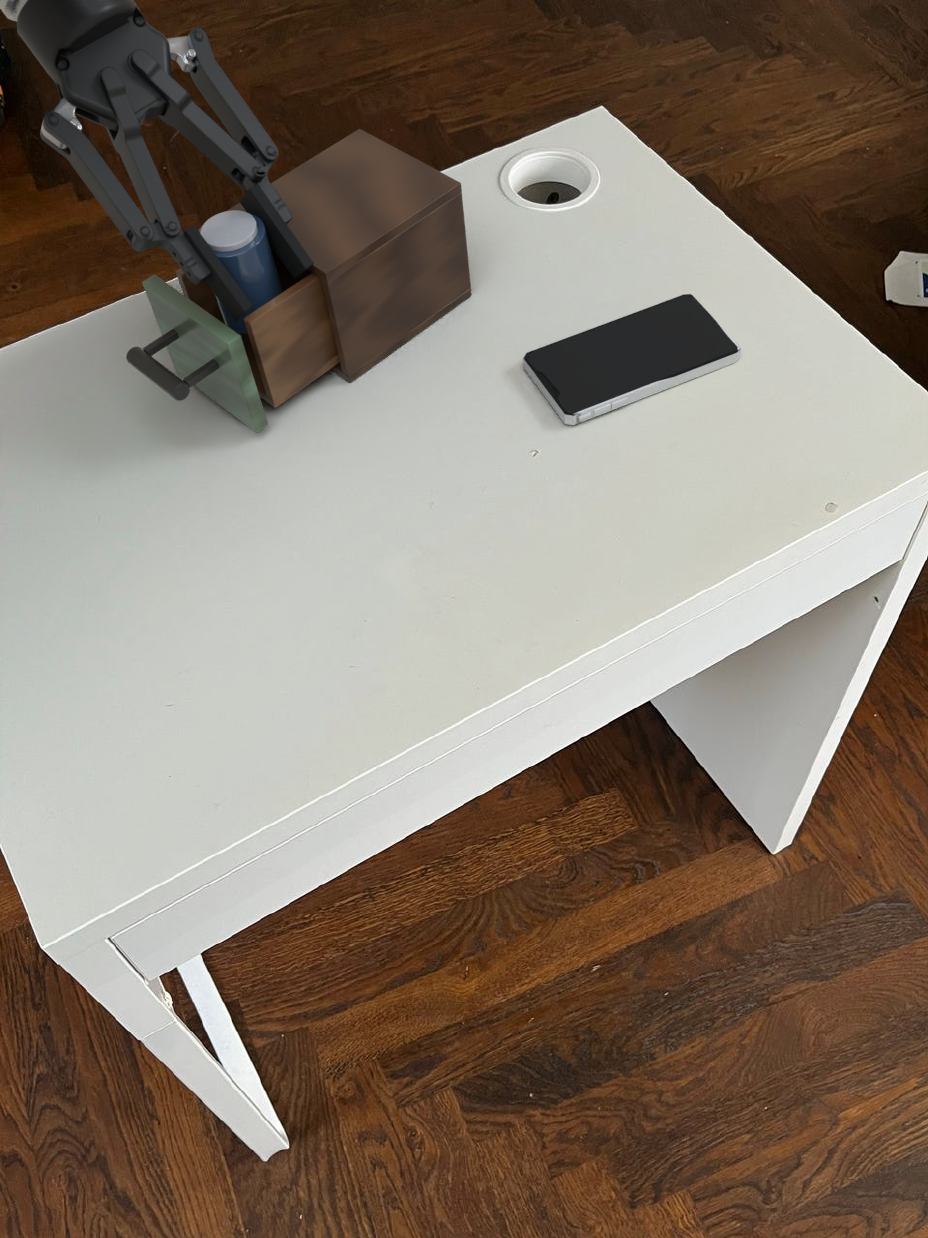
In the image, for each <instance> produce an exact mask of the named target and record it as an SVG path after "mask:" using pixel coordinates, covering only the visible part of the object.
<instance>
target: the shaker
mask: <svg viewBox="0 0 928 1238" xmlns="http://www.w3.org/2000/svg"><path fill="white" fill-rule="evenodd" d="M198 231H199V232H200V234H201V235H202V236H203V238H204V239H205V241H206V242H207V243H208V245H209V246H210V247H211V249H212V250H213V252H214V253H215V254H216V256H217V257H218V258H219V260H220V261H221V263H222V264H223V265H224V267H225V268H226V269H227V271H228V272H229V274H230V275H231V276H232V278H233V279H234V280H235V282H236V283H237V285H238V286H239V287H240V289H241V290H242V291H243V293H244V294H245V296H246V297H247V298H248V300H249V301H250V302H251V304H252V305H253V306H252V307H251V308H250V309H249V310H248V311H247V312H246V313H245V314H244V315H243V316H242V317H241V318H239V319H238V320H236V321H234V319H233V318H232V317H231V315H230V314H229V313H228V311H227V310H226V308H225V307H224V306H223V304H222V303H221V302H220V300H219V299H218V298H217V296H216V295H215V293H214V292H213V294H214V297H215V300H216V303H217V306H218V309H219V311H220V314H221V317H222V320H223V322H224V324H225V325H227V326H228V327H229V328H231V329H232V330H234V331H235V332H237V333H242V334H248V332H247V329H246V326H245V322H244V318H245V317H247V316H248V315H250V314H251V313H253V312H254V311H256V310H257V309H259V308H260V307H262V306H263V305H265V304H266V303H268V302H269V301H271V300H272V299H274V298H275V297H277V296H278V295H280V294H281V293H283V292H284V291H283V288H282V284H281V281H280V277H279V274H278V270H277V267H276V263H275V260H274V256H273V253H272V249H271V246H270V242H269V239H268V235H267V232H266V229H265V225H264V223H263V222H262V220H261V219H260V218H258V217H257V216H255V215H253V214H250V213H247V212H244V211H238V210H233V211H227V210H226V211H223V212H219V213H216V214H215V215H213V216H211V217H209V218H208V219H207V220H206V221H205V222H204V223H203V225H201V227H200V228H199V229H198Z"/></svg>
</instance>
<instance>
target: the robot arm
mask: <svg viewBox="0 0 928 1238" xmlns="http://www.w3.org/2000/svg"><path fill="white" fill-rule="evenodd" d="M0 10H1V12H2V13H3V15H4V16H5V17H6V18H7V19H8V20H10V21H13V22H16V33H17V34H18V36H19V37H20V38H21V40H22V41H23V42H24V43H25V45H26V46H27V47H28V49H29V50H30V52H31V53H32V55H33V56H34V57H35V59H36V60H37V61H38V62H39V64H40V65H41V67H42V68H43V69H44V71H45V72H46V73H47V75H48V76H49V77H50V78H51V79H52V80H53V82H54V84H55V85H56V88H57V91H58V92H57V93H58V97H59V102H58V104H57V105H56V107H54V109H53V110H49V111H47V112H46V113H45V114H44V115H43V118H42V123H41V128H40V130H39V134H40V135H39V137H40V139H41V140H42V141H43V142H44V143H45V144H47V145H48V146H49V147H51V148H52V149H53V150H55V151H56V152H58V153H59V154H60V155H62V156H63V157H64V158H65V159H66V160H67V161H68V162H69V164H70V166H72V168H73V170H74V171H75V172H76V174H77V175H78V176H79V178H80V179H81V180H82V182H83V183H84V184H85V186H86V187H87V188H88V190H89V191H90V192H91V194H92V195H93V197H94V198H95V199H96V201H97V202H98V203H99V205H100V206H101V208H102V209H103V211H104V212H105V213H106V214H107V216H108V217H109V218H110V220H111V221H112V222H113V224H114V225H115V226H116V228H117V229H118V231H119V232H120V234H121V235H122V236H123V238H124V239H125V240H126V242H127V243H128V245H129V246H130V247H131V249H133V250H134V251H136V252H139V253H140V252H144V251H146V250H148V249H152V248H158V249H159V250H163V251H164V250H166V251H167V252H168V253H169V254H170V256H171V257H172V259H173V260H174V262H175V263H176V264H177V266H179V269H180V268H181V269H182V271H183V272H184V273H185V275H186V276H187V277H188V279H189V280H190V281H191V282H192V283H194V284H195V285H198V284H200V283H201V282H203V281H204V280H205V281H206V283H207V284H208V285H209V287H210V288H211V289H212V291H213V292H214V293H215V295H216V296H217V298H218V299H219V300H220V302H221V303H222V304H223V306H224V307H225V308H226V310H227V311H228V313H229V314H230V315H231V317H232V318H233V319H234V321H236V320H238V319H239V318H241V317H242V316H243V315H244V314H245V313H246V312H247V311H248V310H249V309H250V308H251V307H252V306H253V305H252V304H251V302H250V301H249V300H248V298H247V297H246V296H245V294H244V293H243V291H242V290H241V289H240V287H239V286H238V285H237V283H236V282H235V280H234V279H233V278H232V276H231V275H230V274H229V272H228V271H227V269H226V268H225V267H224V265H223V264H222V263H221V261H220V260H219V258H218V257H217V256H216V254H215V253H214V252H213V250H212V249H211V247H210V246H209V245H208V243H207V242H206V241H205V239H204V238H203V236H202V235H201V234H200V232H199V229H198V228H197V226H196V225H195V224H192V225H191V226H190V227H188V228H187V229H185V230H184V231H183V230H182V225H181V222H180V220H179V217H178V215H177V213H176V211H175V208H174V206H173V204H172V201H171V198H170V197H169V195H168V192H167V190H166V187H165V185H164V183H163V181H162V178H161V176H160V174H159V172H158V169H157V166H156V165H155V162H154V160H153V158H152V156H151V153H150V150H149V148H148V146H147V144H146V141H145V139H144V137H143V133H142V126H141V125H142V124H143V123H144V122H145V121H149V120H153V119H156V118H159V119H160V120H161V121H162V122H163V123H165V125H167V126H169V127H173V128H175V129H176V130H177V132H179V133H180V134H181V135H182V136H183V137H184V138H185V139H186V140H188V141H189V142H190V143H191V144H192V146H194V147H196V149H198V150H199V151H200V153H202V154H203V155H204V156H205V157H206V158H208V159H209V161H210V162H212V163H213V164H214V165H215V166H216V167H217V168H218V169H220V170H221V171H222V172H223V173H224V174H225V175H226V176H227V177H228V178H230V180H232V181H233V182H234V183H235V184H236V185H237V186H238V187H239V188H240V189H241V190H243V192H246V193H245V194H244V195H243V196H242V198H241V200H240V201H239V203H241V205H242V206H243V208H244V209H245V210H246V212H247V213H250V214H253V215H255V216H257V217H258V218H260V219H261V220H262V222H263V223H264V225H265V229H266V232H267V235H268V239H269V242H270V246H271V247H272V248H273V250H274V251H275V253H276V254H277V255H278V257H279V258H280V260H281V261H282V262H283V264H284V265H285V267H286V268H287V269H288V271H289V272H290V274H291V275H292V276H293V278H294V279H296V278H298V277H299V276H301V275H302V274H303V273H304V272H305V271H306V270H308V269H309V268H310V267H311V266H312V265H313V264H314V263H313V261H312V260H311V258H310V257H309V256H308V254H307V253H306V251H305V250H304V249H303V247H302V246H301V244H300V243H299V241H298V240H297V239H296V237H295V236H294V234H293V233H292V231H291V230H290V229H289V227H288V226H287V224H288V223H289V222H290V221H291V220H292V216H291V212H290V210H289V209H288V207H287V206H286V205H285V203H284V201H283V200H282V199H281V197H280V196H279V194H278V193H277V191H276V190H275V189H274V187H273V186H272V184H271V183H272V182H271V181H270V179H269V171H270V169H271V168H272V166H273V164H274V163H275V162H276V160H277V158H279V154H280V150H279V148H278V146H277V145H276V143H275V142H274V141H273V139H272V138H271V137H270V135H269V134H268V132H267V131H266V129H265V128H264V126H263V125H262V124H261V122H260V121H259V119H258V118H257V116H256V115H255V114H254V112H253V111H252V110H251V108H250V107H249V105H248V103H247V102H246V101H245V100H244V98H243V97H242V95H241V94H240V92H239V91H238V89H237V88H236V87H235V86H234V84H233V82H232V81H231V80H230V78H229V77H228V76H227V74H226V72H225V71H224V70H223V69H222V67H221V66H220V65H219V63H218V62H217V60H216V58H215V55H214V52H213V49H212V47H211V44H210V41H209V38H208V34H207V32H206V31H205V30H204V29H203V28H200V27H193V28H192V29H191V30H190V31H189V34H188V35H184V36H176V37H168V38H167V37H166V35H164V34H163V33H162V32H161V31H159V30H157V29H156V28H154V26H152V25H151V24H149V22H148V21H146V18H145V17H144V16H143V14H142V12H141V10H140V7H139V6H138V4H137V3H136V2H135V0H0ZM172 60H173V61H175V62H176V63H177V64H178V66H179V67H180V69H181V71H183V72H184V73H189V74H190V77H191V79H192V82H193V83H194V85H195V86H196V88H197V89H198V90H199V92H200V93H201V95H202V96H203V98H204V99H205V100H206V102H207V104H208V105H209V107H211V109H212V110H213V112H214V113H215V115H216V116H217V117H218V119H219V120H220V121H221V123H222V124H223V126H224V127H225V128H226V130H227V131H228V132H227V131H225V130H224V129H223V128H222V127H221V126H220V125H219V124H218V123H217V122H216V121H215V120H214V119H212V118H211V117H210V116H209V115H208V114H207V113H206V112H204V111H203V110H202V109H201V107H199V106H198V105H197V104H196V103H195V102H194V101H193V99H191V96H190V93H189V92H188V91H187V90H186V88H184V87H183V86H182V85H181V84H180V83H179V82H177V81H176V80H175V78H173V73H172V71H173V70H172ZM76 115H77V116H79V117H81V118H84V119H86V120H88V121H90V122H92V123H95V124H97V125H100V126H102V127H104V128H105V130H106V131H107V134H108V136H109V138H110V141H111V143H112V145H113V147H114V150H115V151H116V153H118V154H119V156H120V158H121V160H122V163H123V165H124V168H125V169H126V172H127V175H128V176H129V179H130V182H131V183H132V186H133V188H134V190H135V192H136V195H137V198H138V199H139V202H140V204H141V206H142V208H143V211H144V213H145V215H146V216H145V215H144V214H143V212H142V211H141V210H140V208H139V207H138V206H137V204H136V203H135V202H134V200H133V199H132V197H131V195H130V194H129V193H128V191H126V189H125V187H124V186H123V184H122V183H121V182H120V181H119V179H118V178H117V176H116V175H115V173H114V172H113V171H112V170H111V168H110V167H109V165H108V164H107V162H106V161H105V160H104V158H103V157H102V156H101V154H100V153H99V152H98V150H97V148H96V147H95V146H94V144H93V143H92V142H91V141H90V139H89V138H88V137H87V136H86V135H85V134H84V133H83V132H82V131H83V125H82V123H81V121H80V120H79V119H78V118H77V116H76ZM228 133H229V134H228ZM146 217H147V218H146Z"/></svg>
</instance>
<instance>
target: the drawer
mask: <svg viewBox="0 0 928 1238" xmlns="http://www.w3.org/2000/svg"><path fill="white" fill-rule="evenodd" d="M271 249H272V253H273V256H274V260H275V263H276V267H277V270H278V274H279V277H280V281H281V284H282V288H283V291H284V292H283V293H281V294H280V295H278V296H277V297H275V298H274V299H272V300H271V301H269V302H268V303H266V304H265V305H263V306H262V307H260V308H259V309H257V310H256V311H254V312H253V313H251V314H250V315H248V316H247V317H245V318H244V322H245V326H246V329H247V332H248V334H242V333H237V332H235V331H234V330H232V329H231V328H229V327H228V326H227V325H225V324H224V322H223V320H222V317H221V314H220V311H219V309H218V306H217V303H216V300H215V297H214V294H213V291H212V289H211V288H210V287H209V285H208V284H207V283H206V281H205V280H204V281H203V282H201V283H200V284H198V285H195V284H194V283H192V282H191V281H190V280H189V279H188V277H187V276H186V275H185V273H184V272H183V271H182V269H181V268H180V267H179V268H178V269H176V270H175V274H176V277H177V280H178V283H179V285H180V289H181V292H182V293H181V292H180V291H178V290H177V289H176V288H174V287H173V286H172V285H171V284H169V283H167V282H166V281H165V280H163V278H160V277H159V276H157V275H156V274H152V275H151V276H150V277H147V278H146V279H144V280H143V281H142V282H141V283H142V286H143V288H144V291H145V294H146V297H147V299H148V302H149V305H150V307H151V310H152V312H153V315H154V317H155V320H156V323H157V325H158V328H159V330H160V333H161V336H159V337H158V338H156V339H155V340H153V341H152V342H150V343H148V344H147V345H145V346H144V347H142V348H141V347H140V346H134V347H133V346H132V347H131V348H129V349H128V351H127V353H126V356H125V357H126V358H125V359H126V362H127V363H128V364H130V365H131V366H132V367H133V368H135V369H136V370H137V371H138V372H140V373H141V374H142V375H143V376H145V377H146V378H147V379H149V380H150V381H151V382H153V383H154V384H155V385H156V386H157V387H159V388H160V389H162V391H164V392H165V393H166V394H167V395H169V396H171V397H172V398H173V399H174V400H175V401H178V402H182V401H184V400H186V399H187V398H188V397H189V395H190V393H191V388H192V387H196V388H197V389H198V390H200V391H201V392H202V393H203V394H205V395H206V396H208V397H209V398H210V399H211V400H213V401H214V402H215V403H216V404H218V405H219V406H220V407H222V408H223V409H224V410H226V411H227V412H228V413H230V414H231V415H232V416H233V417H235V418H236V419H238V420H239V421H240V422H241V423H243V424H244V425H246V426H247V427H248V428H249V429H250V430H252V431H253V432H254V433H256V434H257V433H259V432H260V431H262V430H264V429H265V428H266V427H267V426H269V422H268V419H267V415H266V412H265V409H264V407H263V403H262V399H263V400H264V401H265V402H267V403H268V404H270V405H271V406H272V407H274V408H275V409H276V408H277V407H279V406H280V405H282V404H284V403H285V402H286V401H288V399H290V398H292V397H293V396H295V395H297V393H299V392H300V391H302V390H303V389H305V388H306V387H307V386H308V385H310V384H312V383H313V382H314V381H316V380H317V379H318V378H320V377H321V376H323V375H324V374H325V373H328V371H331V370H330V369H331V368H332V367H334V366H335V365H337V364H338V363H339V362H340V360H339V356H338V351H337V347H336V343H335V338H334V334H333V329H332V325H331V320H330V316H329V312H328V307H327V303H326V298H325V294H324V289H323V285H322V281H321V278H320V277H319V276H317V275H315V274H314V273H312V272H311V271H309V270H306V271H305V272H304V273H303V274H302V275H301V276H299V277H298V278H296V279H294V278H293V276H292V275H291V274H290V272H289V271H288V269H287V268H286V267H285V265H284V264H283V262H282V261H281V260H280V258H279V257H278V255H277V254H276V253H275V251H274V250H273V248H272V247H271ZM164 348H167V352H168V354H169V357H170V359H171V362H172V365H173V367H174V369H175V372H176V373H177V374H179V376H181V377H182V378H183V379H182V378H181V377H179V376H178V375H176V374H175V373H174V372H173V371H171V370H170V369H169V368H167V367H166V366H165V365H164V364H162V363H161V362H159V360H157V359H156V358H155V357H153V356H154V355H155V354H157V353H158V352H160V351H162V350H163V349H164Z"/></svg>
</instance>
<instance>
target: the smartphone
mask: <svg viewBox="0 0 928 1238" xmlns="http://www.w3.org/2000/svg"><path fill="white" fill-rule="evenodd" d="M741 351H742V348H741V346H740V345H739V344H738V342H736V341H735V340H734V338H733V337H732V336H731V335H730V334H729V333H728V332H727V331H726V330H725V329H724V328H723V326H721V324H719V322H718V321H717V320H716V319H715V318H714V316H713V315H712V314H711V313H710V312H709V311H708V310H707V309H706V308H705V307H704V306H703V304H701V302H700V301H699V300H698V299H697V298H696V297H695V296H694V295H693V294H692V293H685V294H681V295H678V296H676V297H673V298H669V299H668V300H665V301H662V302H660V303H657V304H654V305H652V306H651V305H650V306H648V307H646V308H643V309H641V310H638V311H636V312H633V313H630V314H627V315H625V316H621V317H619V318H617V319H614V320H611V321H608V322H606V323H603V324H600V325H597V326H595V327H592V328H589V329H586V330H584V331H582V332H579V333H576V334H572V335H571V336H568V337H565V338H562V339H560V340H557V341H553V342H551V343H549V344H546V345H544V346H540V347H538V348H536V349H533V350H530V351H528V352H526V353H525V354H524V356H523V358H522V359H523V361H522V362H523V369H524V370H525V372H526V374H527V375H528V376H529V377H530V379H531V380H532V382H534V383H535V386H536V387H537V388H538V389H539V391H540V392H541V394H542V395H543V396H544V397H545V399H546V400H547V402H548V403H549V405H550V406H551V407H552V408H553V410H554V411H555V413H556V414H557V415H558V417H559V418H560V419H561V421H562V423H564V425H570V426H575V425H578V424H580V423H583V422H585V421H588V420H590V419H594V418H596V417H598V416H602V415H604V414H606V413H609V412H611V411H615V410H616V409H619V408H621V407H624V406H627V405H629V404H632V403H634V402H637V401H640V400H642V399H645V398H648V397H650V396H653V395H655V394H658V393H660V392H663V391H665V390H668V389H671V388H673V387H676V386H679V385H681V384H683V383H686V382H689V381H692V380H695V379H696V378H699V377H702V376H705V375H707V374H709V373H713V372H714V371H717V370H720V369H722V368H725V367H727V366H731V365H732V364H736V363H737V362H738V361H739V360H740V357H741Z"/></svg>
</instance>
